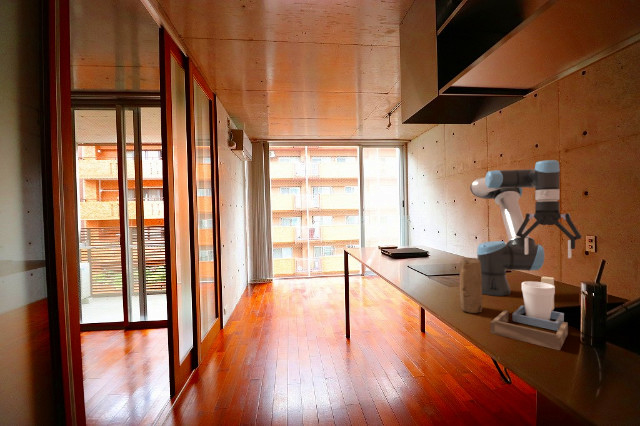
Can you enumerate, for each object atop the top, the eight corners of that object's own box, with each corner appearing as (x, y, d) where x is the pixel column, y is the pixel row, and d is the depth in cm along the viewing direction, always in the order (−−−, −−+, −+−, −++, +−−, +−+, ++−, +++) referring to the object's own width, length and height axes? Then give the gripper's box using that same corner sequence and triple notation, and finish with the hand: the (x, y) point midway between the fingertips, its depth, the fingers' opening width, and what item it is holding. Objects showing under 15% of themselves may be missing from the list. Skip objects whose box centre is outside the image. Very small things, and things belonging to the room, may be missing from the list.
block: (483, 315, 114) (482, 261, 114) (460, 312, 117) (460, 260, 117) (479, 306, 124) (479, 256, 124) (459, 304, 127) (458, 256, 127)
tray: (529, 304, 125) (529, 274, 125) (569, 311, 116) (569, 279, 116) (512, 321, 107) (512, 286, 107) (557, 331, 98) (557, 293, 98)
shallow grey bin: (504, 319, 109) (504, 308, 109) (567, 333, 97) (567, 321, 97) (490, 332, 98) (490, 320, 98) (559, 350, 86) (559, 336, 86)
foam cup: (556, 329, 100) (556, 289, 100) (522, 324, 105) (521, 286, 105) (553, 320, 108) (553, 283, 108) (521, 315, 113) (521, 280, 113)
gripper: (507, 201, 125) (507, 253, 126) (589, 200, 107) (589, 260, 108) (512, 201, 130) (512, 251, 131) (590, 200, 113) (590, 257, 113)
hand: (547, 255), depth 119 cm, fingers open, 13 cm apart
